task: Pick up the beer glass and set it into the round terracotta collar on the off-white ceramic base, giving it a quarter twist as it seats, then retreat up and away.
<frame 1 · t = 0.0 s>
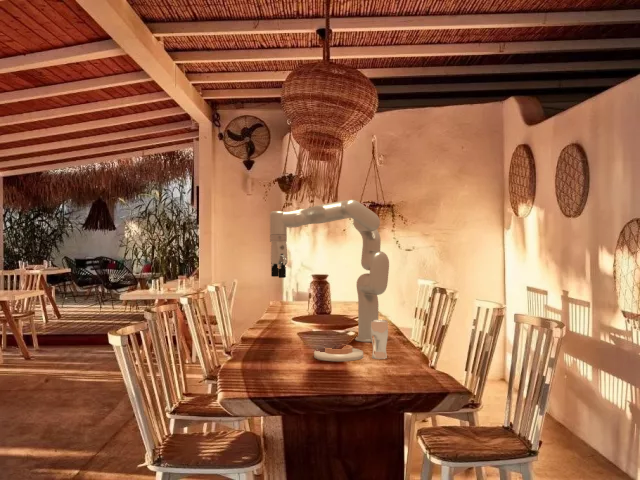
hand: (278, 277, 269), 31 cm above the table, tool pointing down, fingers open, 9 cm apart
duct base: (338, 356, 246), on the table
beer glass: (379, 358, 244), on the table
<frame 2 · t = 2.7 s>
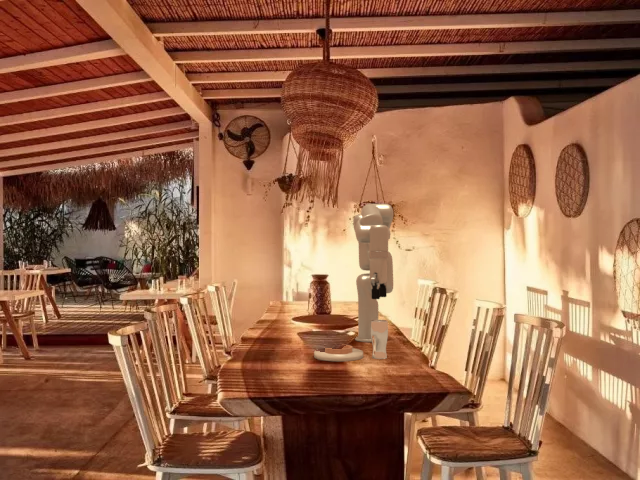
hand: (379, 298, 244), 24 cm above the table, tool pointing down, fingers open, 9 cm apart
nothing on the table moved.
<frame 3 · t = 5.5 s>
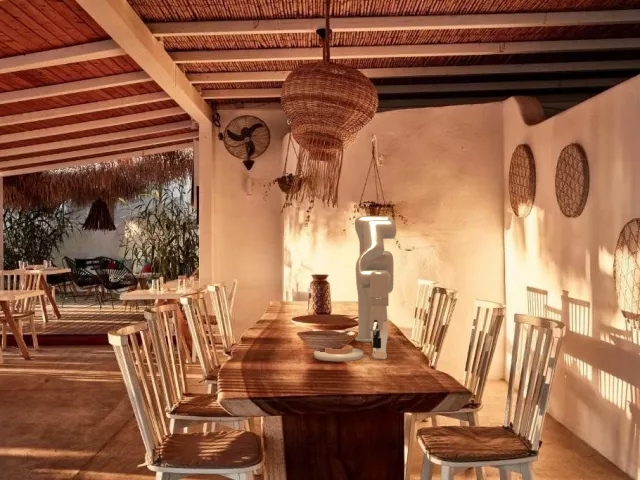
hand: (379, 346, 244), 5 cm above the table, tool pointing down, fingers closed on beer glass, 6 cm apart
beer glass: (379, 358, 244), on the table, touching gripper
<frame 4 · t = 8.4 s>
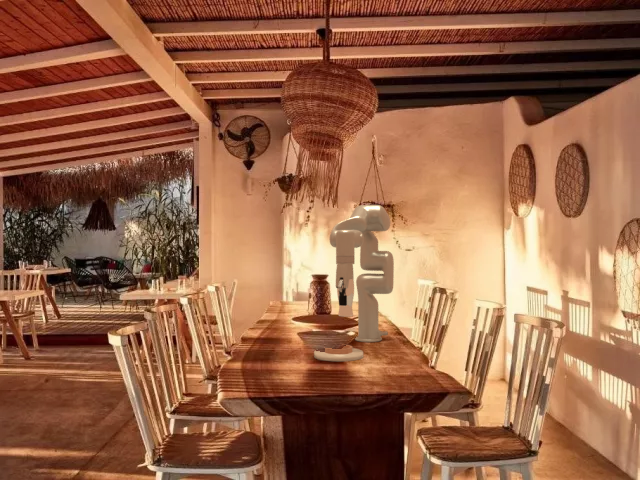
hand: (345, 304, 246), 21 cm above the table, tool pointing down, fingers closed on beer glass, 6 cm apart
beer glass: (345, 316, 246), point 17 cm above the table, touching gripper
when the fingers open (7 cm above the table, at t = 11.8 s): beer glass stays where it is, resting on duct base.
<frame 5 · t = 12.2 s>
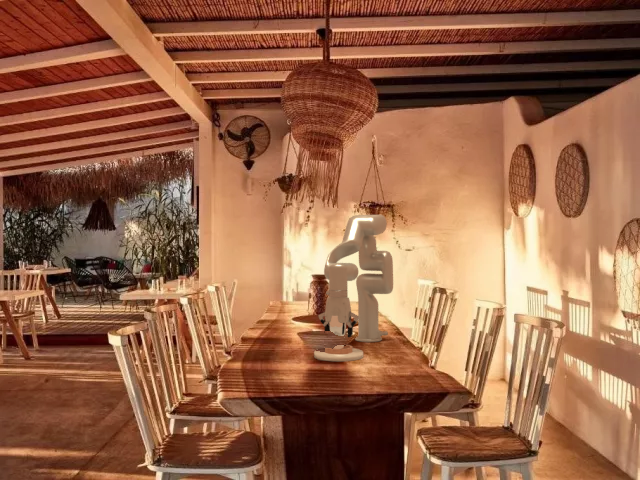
hand: (338, 336, 246), 8 cm above the table, tool pointing down, fingers open, 9 cm apart
beer glass: (337, 352, 247), point 2 cm above the table, touching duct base
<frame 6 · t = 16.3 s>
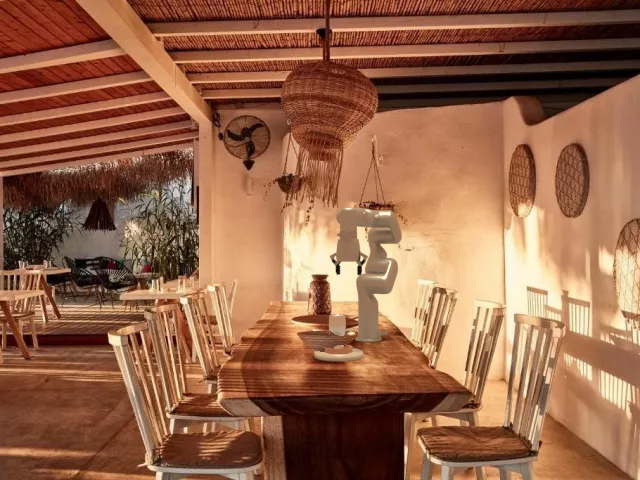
hand: (348, 274, 265), 32 cm above the table, tool pointing down, fingers open, 9 cm apart
nothing on the table moved.
at the end: beer glass 0.6 cm from the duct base (horizontally); beer glass tilted 0°; the gripper is holding nothing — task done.
